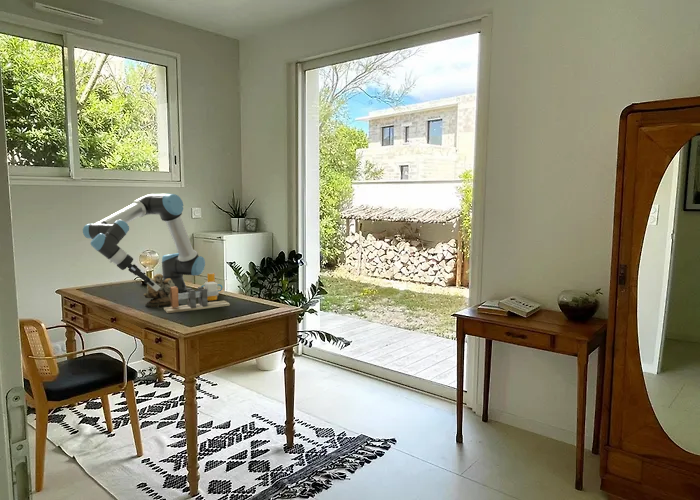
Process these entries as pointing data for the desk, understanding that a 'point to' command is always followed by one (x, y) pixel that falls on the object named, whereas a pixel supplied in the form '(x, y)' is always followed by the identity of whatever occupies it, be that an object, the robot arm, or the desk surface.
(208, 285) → the block
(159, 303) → the brown rough lump
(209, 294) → the shaft
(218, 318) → the desk surface
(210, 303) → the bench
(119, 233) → the robot arm
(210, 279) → the sippy cup
